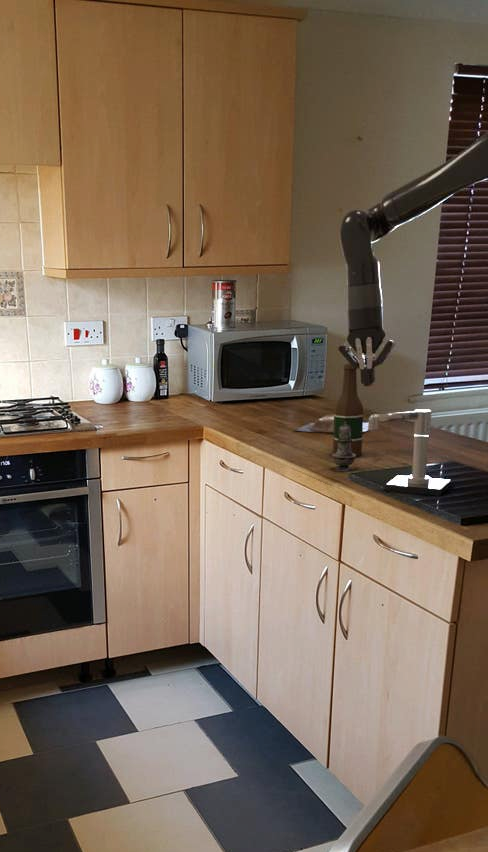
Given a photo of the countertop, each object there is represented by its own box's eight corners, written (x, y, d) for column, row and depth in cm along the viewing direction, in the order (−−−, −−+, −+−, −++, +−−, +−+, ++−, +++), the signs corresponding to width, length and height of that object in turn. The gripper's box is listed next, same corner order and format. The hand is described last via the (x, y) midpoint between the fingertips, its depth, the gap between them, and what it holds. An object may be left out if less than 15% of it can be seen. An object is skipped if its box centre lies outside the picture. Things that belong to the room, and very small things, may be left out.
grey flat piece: (377, 424, 283) (378, 412, 281) (359, 434, 266) (360, 421, 265) (316, 421, 292) (316, 409, 291) (294, 431, 275) (295, 418, 274)
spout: (425, 432, 196) (426, 409, 194) (432, 435, 192) (434, 411, 191) (364, 436, 193) (365, 412, 191) (371, 439, 190) (372, 415, 188)
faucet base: (450, 486, 199) (454, 433, 195) (439, 495, 191) (443, 440, 187) (397, 481, 204) (400, 430, 201) (385, 490, 196) (388, 437, 192)
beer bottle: (364, 453, 238) (368, 363, 231) (358, 458, 232) (362, 365, 224) (336, 451, 241) (339, 362, 234) (329, 457, 235) (332, 365, 227)
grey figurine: (336, 466, 223) (337, 419, 219) (358, 467, 220) (360, 420, 217) (328, 470, 218) (329, 422, 215) (351, 472, 216) (353, 423, 212)
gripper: (330, 310, 194) (334, 389, 199) (389, 303, 187) (392, 385, 192) (341, 309, 200) (345, 386, 205) (399, 302, 193) (402, 382, 198)
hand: (368, 385), depth 198 cm, fingers closed
